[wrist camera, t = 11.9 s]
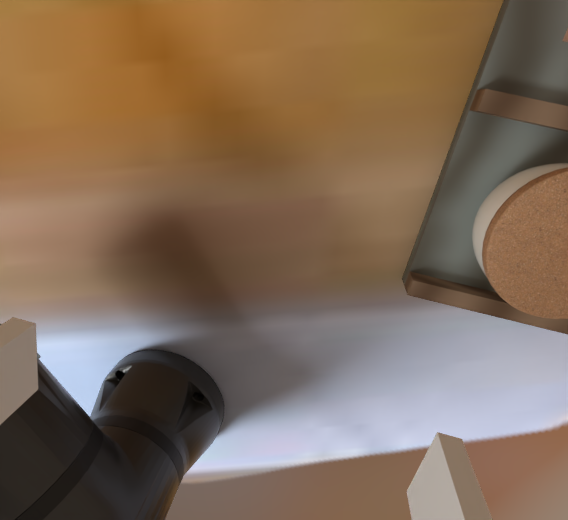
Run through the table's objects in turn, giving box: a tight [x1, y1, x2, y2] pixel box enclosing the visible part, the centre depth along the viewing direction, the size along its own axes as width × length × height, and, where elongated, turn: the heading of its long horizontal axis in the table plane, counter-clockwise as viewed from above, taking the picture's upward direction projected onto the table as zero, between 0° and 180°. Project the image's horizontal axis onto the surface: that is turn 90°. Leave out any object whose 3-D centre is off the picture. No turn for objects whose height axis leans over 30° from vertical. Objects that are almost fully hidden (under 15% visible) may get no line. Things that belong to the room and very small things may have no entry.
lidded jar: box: [472, 163, 568, 319], centre depth 28 cm, size 11×11×9 cm
